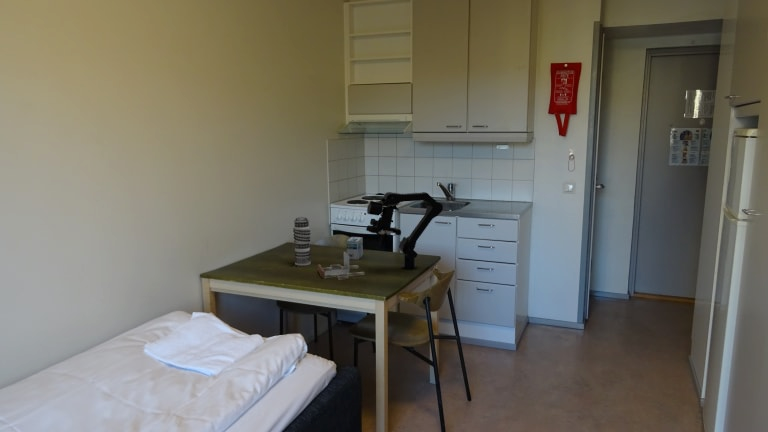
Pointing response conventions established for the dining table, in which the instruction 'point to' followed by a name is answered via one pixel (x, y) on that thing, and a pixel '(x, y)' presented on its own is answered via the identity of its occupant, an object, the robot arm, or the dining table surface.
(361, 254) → the light bulb box
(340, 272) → the bookend
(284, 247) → the dining table surface
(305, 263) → the decorative candle
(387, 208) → the robot arm
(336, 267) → the trap lane
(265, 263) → the dining table surface
